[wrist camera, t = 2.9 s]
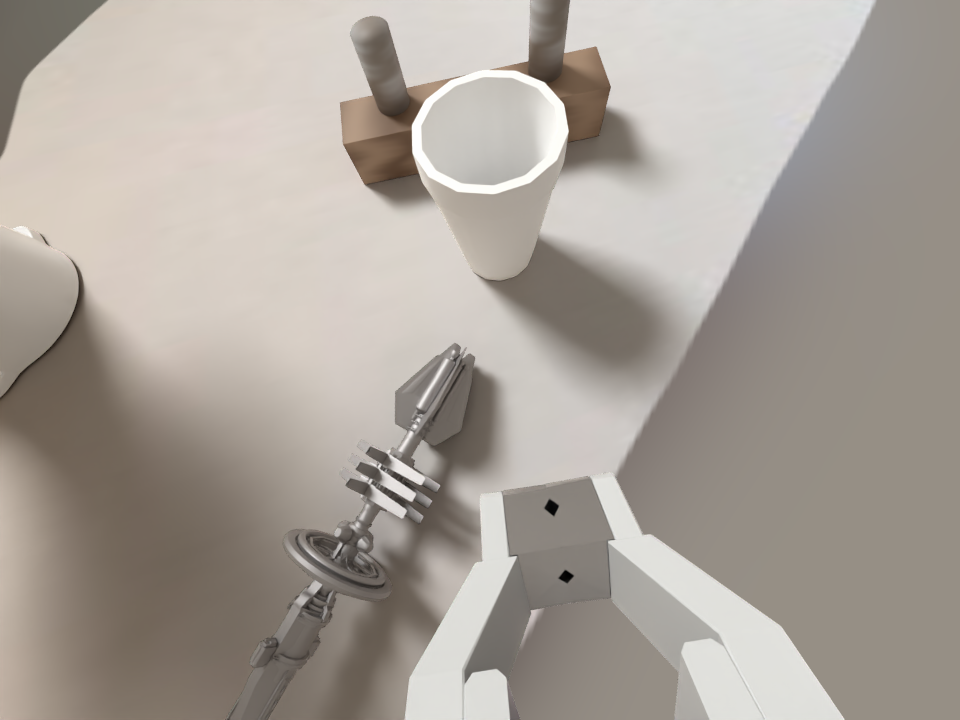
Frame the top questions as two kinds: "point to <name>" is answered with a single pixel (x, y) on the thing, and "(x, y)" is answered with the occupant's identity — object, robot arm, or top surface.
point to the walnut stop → (393, 108)
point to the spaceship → (358, 529)
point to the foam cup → (492, 164)
